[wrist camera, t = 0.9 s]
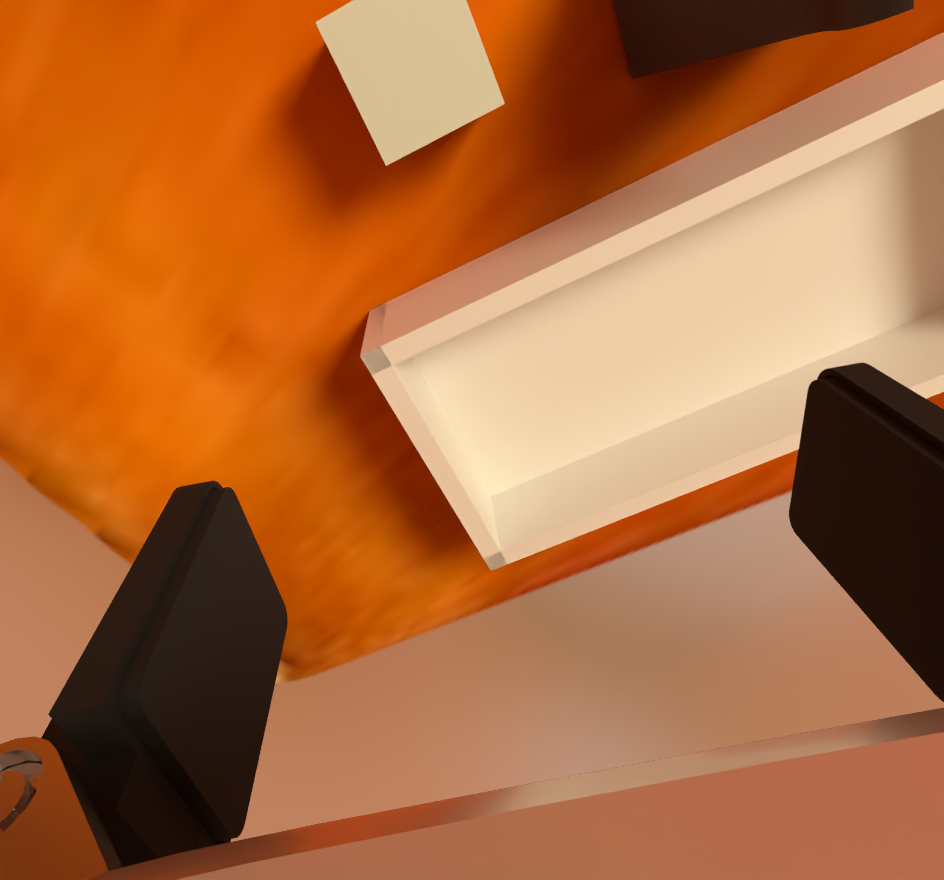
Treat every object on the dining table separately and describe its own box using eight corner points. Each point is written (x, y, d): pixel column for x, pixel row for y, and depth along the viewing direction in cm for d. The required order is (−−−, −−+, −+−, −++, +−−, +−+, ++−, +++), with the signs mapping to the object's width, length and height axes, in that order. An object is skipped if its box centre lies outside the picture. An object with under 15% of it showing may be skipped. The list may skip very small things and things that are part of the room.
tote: (972, 18, 26) (1106, 2, 21) (974, 299, 33) (1076, 339, 28) (369, 310, 31) (359, 356, 26) (480, 504, 38) (490, 570, 33)
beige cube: (441, -30, 24) (446, -54, 20) (490, 100, 27) (505, 103, 22) (332, 32, 25) (315, 22, 21) (391, 152, 28) (385, 166, 23)
